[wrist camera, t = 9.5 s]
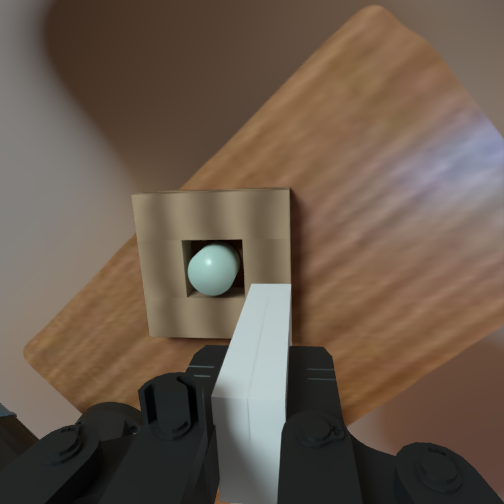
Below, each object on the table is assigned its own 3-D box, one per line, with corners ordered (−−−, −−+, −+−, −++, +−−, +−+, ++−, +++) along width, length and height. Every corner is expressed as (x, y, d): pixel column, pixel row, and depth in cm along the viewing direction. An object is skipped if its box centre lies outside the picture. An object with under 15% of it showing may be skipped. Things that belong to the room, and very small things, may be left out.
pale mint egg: (200, 282, 50) (190, 295, 46) (196, 241, 49) (185, 250, 44) (241, 282, 50) (235, 295, 45) (239, 240, 48) (232, 250, 43)
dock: (160, 323, 54) (150, 336, 50) (144, 191, 49) (131, 195, 45) (292, 326, 51) (291, 339, 47) (289, 187, 46) (289, 189, 42)
